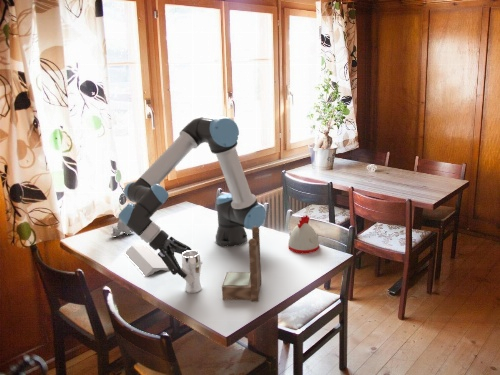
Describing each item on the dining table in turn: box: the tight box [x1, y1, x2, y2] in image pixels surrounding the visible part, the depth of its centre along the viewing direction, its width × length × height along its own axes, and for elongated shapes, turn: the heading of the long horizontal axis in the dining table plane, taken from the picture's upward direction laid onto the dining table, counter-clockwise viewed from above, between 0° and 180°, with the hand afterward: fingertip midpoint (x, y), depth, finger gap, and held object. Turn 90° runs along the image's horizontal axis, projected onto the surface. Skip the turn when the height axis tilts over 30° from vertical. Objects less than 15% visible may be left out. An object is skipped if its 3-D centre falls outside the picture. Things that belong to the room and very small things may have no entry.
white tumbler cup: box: [181, 249, 202, 294], centre depth 180 cm, size 7×7×15 cm
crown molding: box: [125, 245, 170, 277], centre depth 208 cm, size 29×12×4 cm, turn 31°
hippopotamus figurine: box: [110, 219, 134, 237], centre depth 239 cm, size 7×12×8 cm, turn 125°
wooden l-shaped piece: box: [221, 226, 262, 303], centre depth 175 cm, size 13×15×24 cm
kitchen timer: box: [287, 214, 320, 255], centre depth 214 cm, size 14×14×15 cm
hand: (196, 273), depth 179 cm, fingers open, 13 cm apart
